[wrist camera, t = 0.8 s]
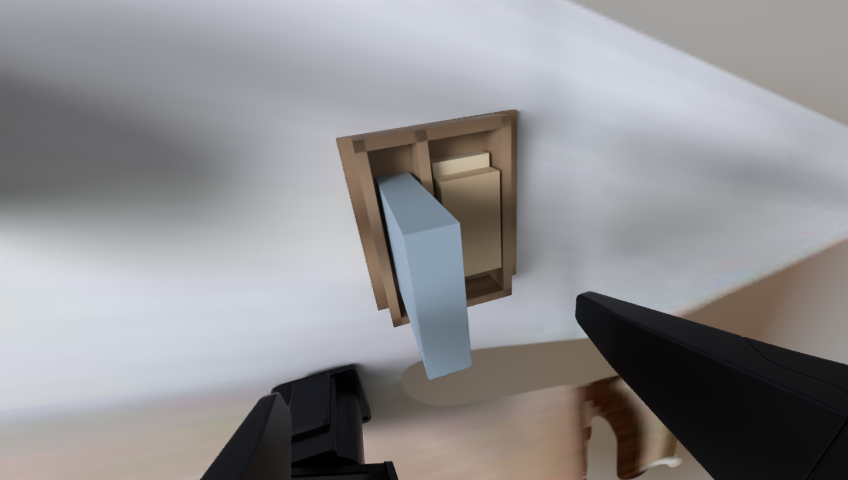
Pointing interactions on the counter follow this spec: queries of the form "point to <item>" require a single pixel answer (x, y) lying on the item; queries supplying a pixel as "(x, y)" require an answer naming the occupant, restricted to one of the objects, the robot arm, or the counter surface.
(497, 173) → the offcut upper
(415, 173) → the rack
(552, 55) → the counter surface
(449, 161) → the offcut lower
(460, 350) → the board
